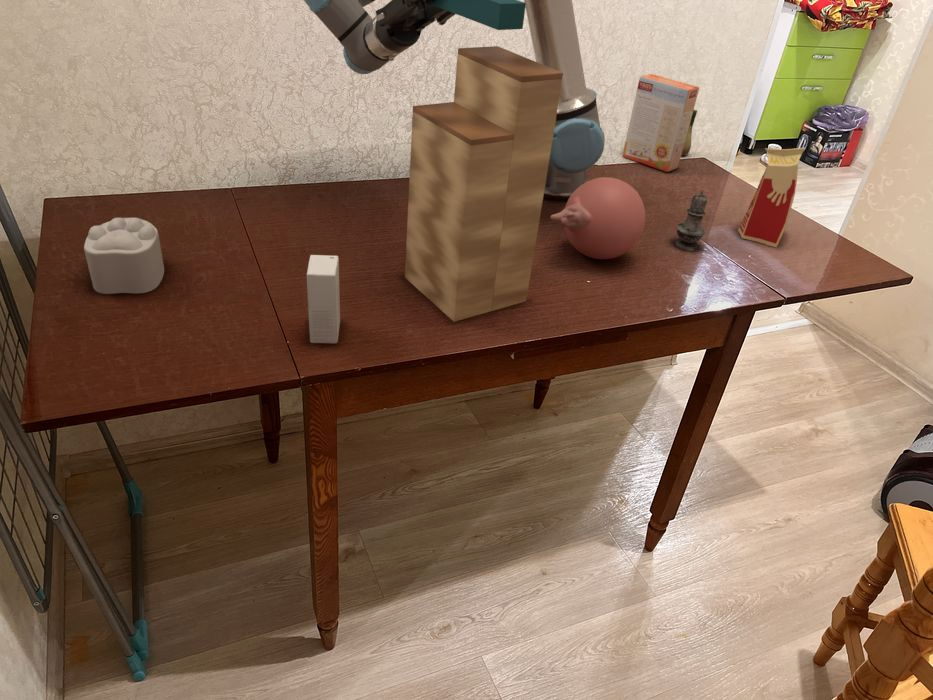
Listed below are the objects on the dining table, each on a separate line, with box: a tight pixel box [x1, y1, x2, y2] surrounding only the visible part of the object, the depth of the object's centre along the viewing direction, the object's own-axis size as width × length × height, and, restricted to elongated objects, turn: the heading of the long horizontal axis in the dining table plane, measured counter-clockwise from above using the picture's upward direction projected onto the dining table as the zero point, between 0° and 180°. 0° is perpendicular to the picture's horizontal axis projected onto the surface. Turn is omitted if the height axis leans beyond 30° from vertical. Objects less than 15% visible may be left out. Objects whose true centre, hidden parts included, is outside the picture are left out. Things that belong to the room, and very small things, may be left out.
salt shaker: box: [673, 190, 708, 252], centre depth 144 cm, size 6×6×12 cm
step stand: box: [404, 45, 563, 323], centre depth 113 cm, size 16×15×38 cm
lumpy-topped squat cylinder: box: [83, 217, 165, 295], centre depth 116 cm, size 10×13×9 cm
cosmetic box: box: [306, 254, 341, 344], centre depth 106 cm, size 6×4×12 cm
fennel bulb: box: [681, 109, 698, 156], centre depth 191 cm, size 6×5×12 cm
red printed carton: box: [737, 147, 806, 249], centre depth 149 cm, size 9×9×20 cm
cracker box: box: [622, 73, 700, 173], centre depth 181 cm, size 14×6×21 cm, turn 47°
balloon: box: [550, 176, 646, 260], centre depth 134 cm, size 15×20×15 cm
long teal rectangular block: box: [424, 0, 526, 31], centre depth 109 cm, size 22×4×4 cm, turn 35°
